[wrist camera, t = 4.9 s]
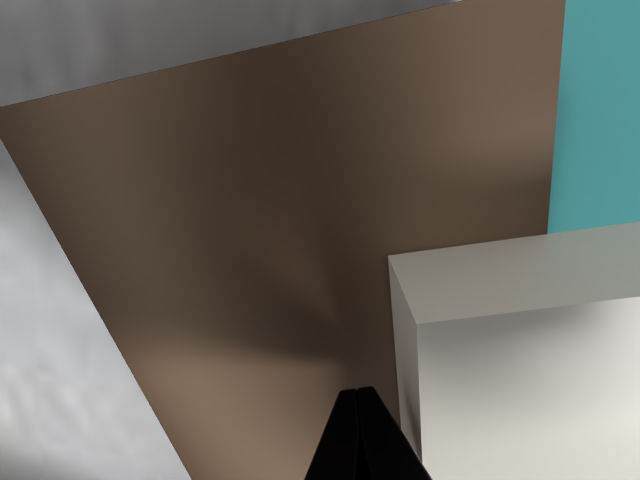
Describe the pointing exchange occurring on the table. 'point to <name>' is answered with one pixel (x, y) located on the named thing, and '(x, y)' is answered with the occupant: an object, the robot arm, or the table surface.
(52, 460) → the table surface
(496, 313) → the cream tile
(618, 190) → the teal mat
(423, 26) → the walnut step
